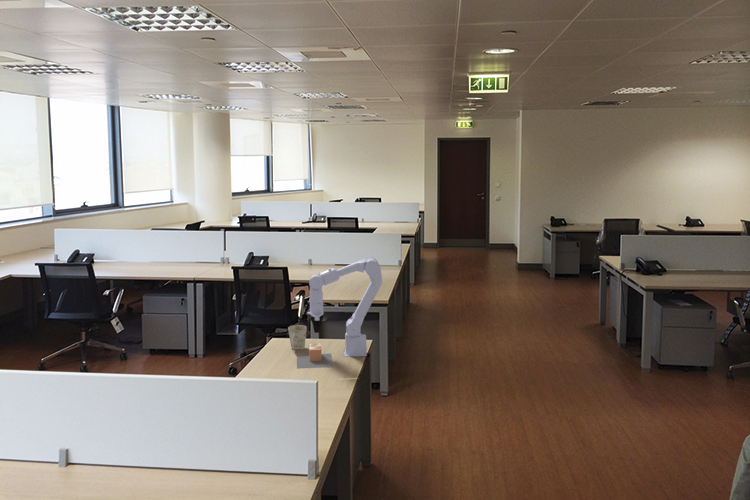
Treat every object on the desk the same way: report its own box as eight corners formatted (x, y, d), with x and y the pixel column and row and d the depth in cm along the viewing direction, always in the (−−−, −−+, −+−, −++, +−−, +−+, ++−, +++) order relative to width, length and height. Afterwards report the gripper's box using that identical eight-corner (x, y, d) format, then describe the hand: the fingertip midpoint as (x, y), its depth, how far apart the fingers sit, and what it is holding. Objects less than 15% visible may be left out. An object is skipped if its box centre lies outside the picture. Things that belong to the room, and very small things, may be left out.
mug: (308, 345, 298) (308, 325, 297) (303, 354, 286) (302, 332, 284) (291, 345, 299) (290, 324, 298) (284, 353, 287) (284, 332, 285)
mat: (330, 354, 285) (330, 353, 285) (333, 367, 268) (333, 366, 268) (296, 355, 284) (296, 354, 284) (296, 369, 266) (296, 368, 266)
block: (321, 360, 275) (320, 354, 284) (321, 349, 275) (320, 343, 284) (309, 361, 275) (309, 354, 284) (309, 349, 274) (309, 343, 283)
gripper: (306, 298, 288) (307, 328, 290) (307, 306, 273) (308, 337, 276) (322, 298, 289) (323, 327, 291) (324, 306, 274) (324, 336, 276)
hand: (316, 332), depth 283 cm, fingers closed
